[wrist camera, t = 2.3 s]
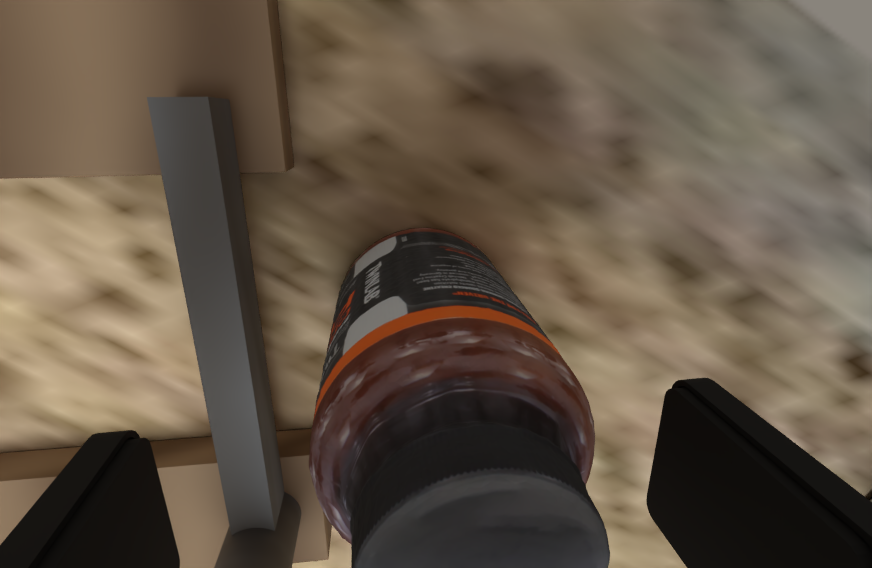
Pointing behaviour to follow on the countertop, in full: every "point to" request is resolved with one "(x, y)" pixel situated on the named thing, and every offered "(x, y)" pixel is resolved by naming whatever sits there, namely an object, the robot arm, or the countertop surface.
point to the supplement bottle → (450, 419)
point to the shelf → (175, 236)
